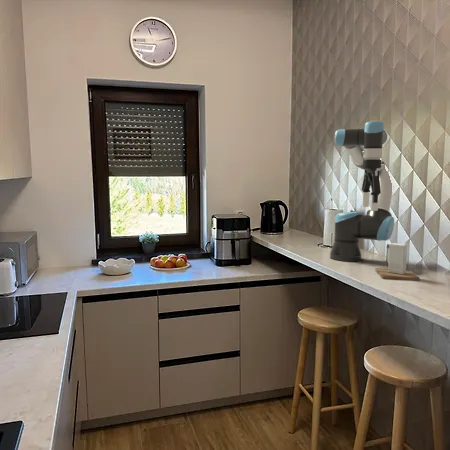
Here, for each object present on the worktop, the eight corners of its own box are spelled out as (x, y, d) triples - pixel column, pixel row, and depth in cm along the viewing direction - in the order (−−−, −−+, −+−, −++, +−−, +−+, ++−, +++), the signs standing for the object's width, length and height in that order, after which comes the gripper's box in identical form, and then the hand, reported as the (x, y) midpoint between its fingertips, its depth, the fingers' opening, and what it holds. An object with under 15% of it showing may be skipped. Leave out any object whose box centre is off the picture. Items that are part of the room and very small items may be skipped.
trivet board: (375, 270, 182) (375, 268, 182) (408, 272, 180) (409, 269, 180) (382, 278, 168) (382, 275, 168) (419, 280, 166) (419, 277, 166)
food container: (405, 272, 181) (406, 249, 180) (390, 271, 182) (391, 248, 181) (399, 265, 193) (400, 244, 192) (385, 265, 194) (386, 243, 193)
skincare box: (406, 273, 173) (408, 244, 172) (402, 274, 170) (404, 245, 169) (391, 270, 177) (392, 242, 176) (387, 272, 174) (389, 243, 172)
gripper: (356, 159, 190) (353, 205, 193) (371, 158, 165) (368, 212, 169) (373, 159, 189) (370, 205, 193) (390, 158, 165) (387, 212, 168)
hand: (369, 208), depth 181 cm, fingers open, 13 cm apart
